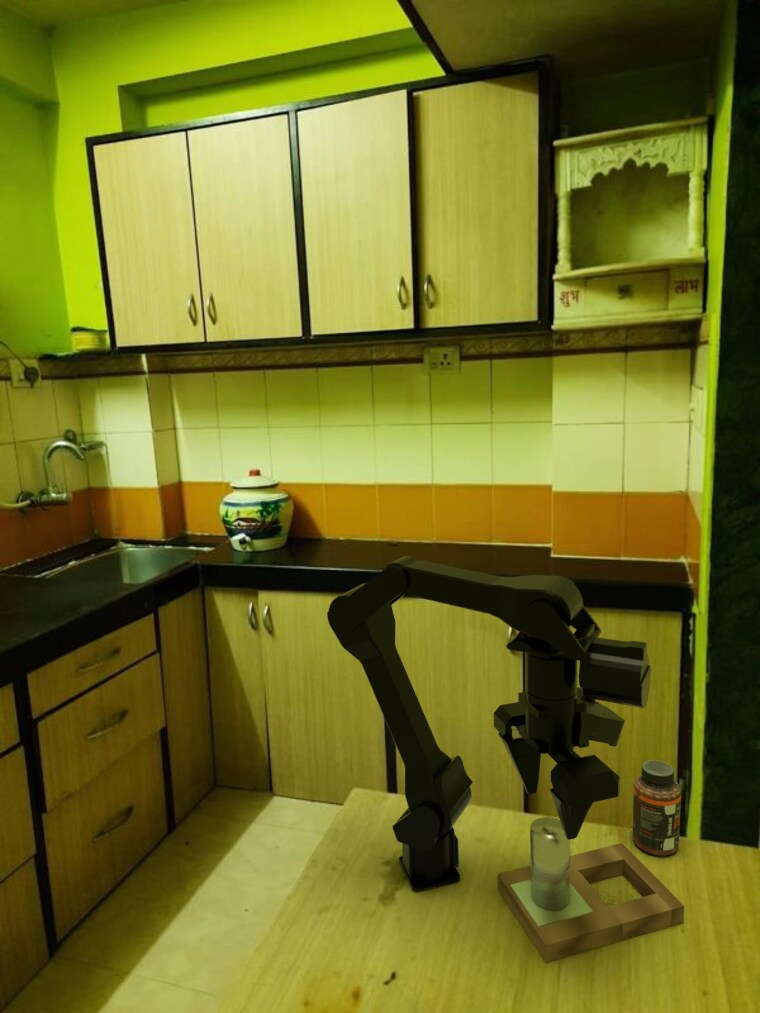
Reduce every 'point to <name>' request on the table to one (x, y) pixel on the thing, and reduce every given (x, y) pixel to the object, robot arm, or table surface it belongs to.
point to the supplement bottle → (656, 809)
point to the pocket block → (591, 905)
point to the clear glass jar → (549, 864)
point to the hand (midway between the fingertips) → (550, 814)
